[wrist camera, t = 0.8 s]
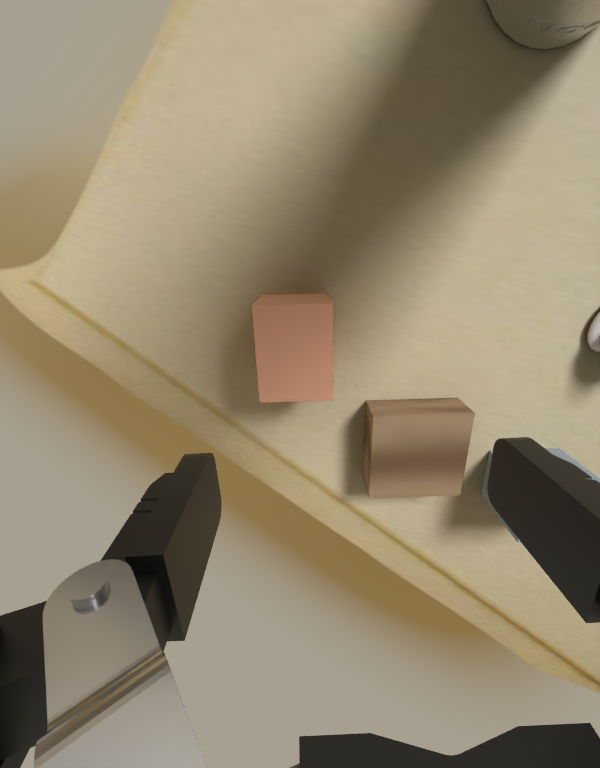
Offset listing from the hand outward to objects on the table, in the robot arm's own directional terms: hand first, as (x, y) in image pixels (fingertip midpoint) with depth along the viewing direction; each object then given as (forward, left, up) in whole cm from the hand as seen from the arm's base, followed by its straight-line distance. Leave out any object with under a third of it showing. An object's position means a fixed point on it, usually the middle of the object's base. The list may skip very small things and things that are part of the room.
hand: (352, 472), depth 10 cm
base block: (+10, +8, -19) cm, 23 cm away
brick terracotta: (0, -2, -19) cm, 19 cm away
